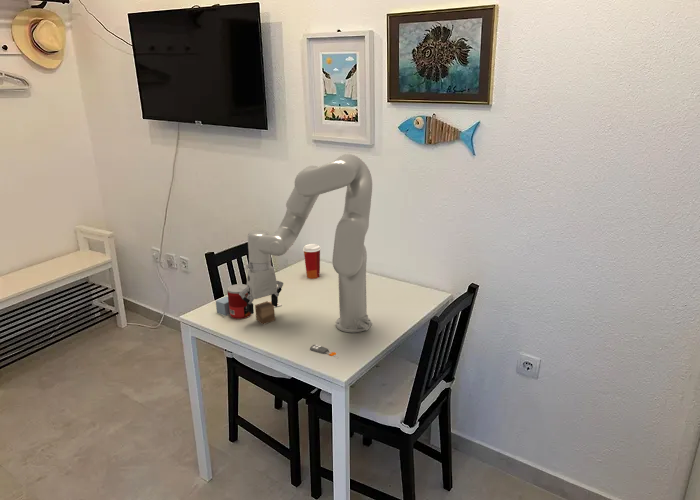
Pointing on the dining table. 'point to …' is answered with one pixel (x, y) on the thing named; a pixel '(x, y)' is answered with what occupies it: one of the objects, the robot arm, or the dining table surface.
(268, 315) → the walnut block
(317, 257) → the paper cup
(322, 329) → the dining table surface
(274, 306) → the swatch
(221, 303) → the slate block
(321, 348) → the key chain
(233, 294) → the canned food
